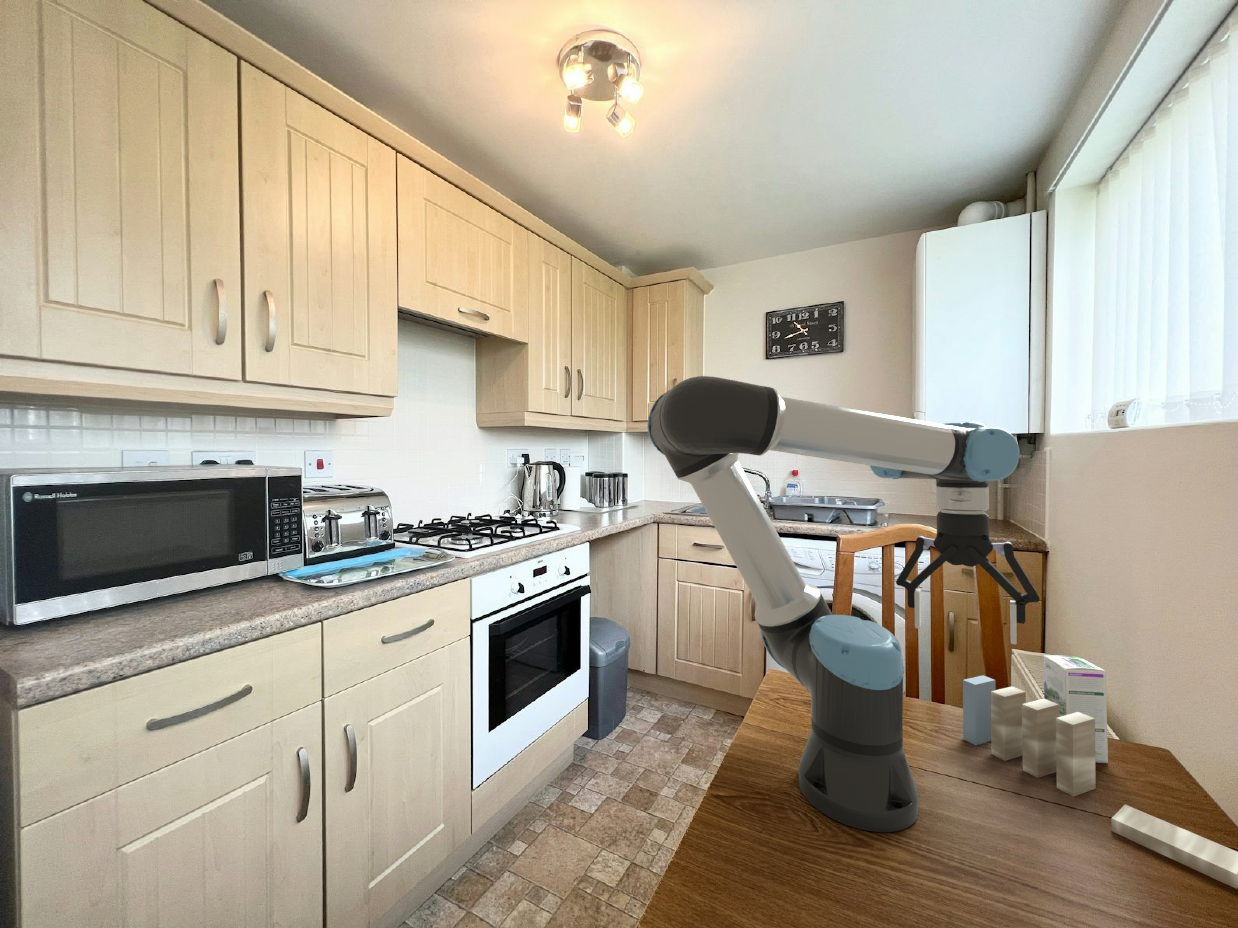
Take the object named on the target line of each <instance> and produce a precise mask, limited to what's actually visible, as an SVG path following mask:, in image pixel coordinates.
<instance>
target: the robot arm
mask: <svg viewBox="0 0 1238 928" xmlns="http://www.w3.org/2000/svg"><path fill="white" fill-rule="evenodd" d="M647 432H648V437H649V438H650V441H651V443H652V445H653V447H655V449H656V450H657V451H658V452H660V453H661V454H662V455H664V457H665V458H666V461H667V462H668V464H669V466H670V467H671V470H672V471H673V473H674V474H675V476H676V478H677V479H678V480H679V481H683V482H686V483H689V484H690V485H691V487H692V488H693V490H694V492H695V493H696V496H697V497H698V499H699V501H700V502H701V504H702V507H703V508H704V510H705V512H706V513H707V515H708V517H709V519H710V521H711V523H712V524H713V526H714V528H715V530H716V531H717V534H718V535H719V537H720V539H721V541H722V543H723V545H724V547H725V548H726V550H727V551H728V554H729V555H730V557H731V558H732V561H733V562H734V565H735V566H736V568H737V570H738V572H739V573H740V575H741V576H742V579H743V581H744V583H745V584H746V586H747V588H748V589H749V592H750V593H751V596H753V598H754V601H755V603H756V604H757V606H756V608H755V611H754V619H755V621H756V623H757V625H758V627H759V630H760V637H761V639H762V643H763V646H764V648H765V649H766V651H767V653H768V654H769V655H770V657H771V659H772V660H774V662H776V663H777V664H778V665H779V666H780V667H782V668H783V669H784V670H786V671H787V672H788V673H789V674H790V675H791V676H792V677H793V678H794V679H795V680H797V682H799V683H800V684H801V685H802V686H803V687H804V688H805V689H806V690H807V691H809V693H810V708H811V709H810V711H811V712H810V716H811V719H810V720H811V721H810V722H811V724H810V725H811V729H810V733H809V736H808V738H807V741H806V742H805V743H806V744H805V746H804V750H803V751H802V755H801V758H800V761H799V765H798V785H799V789H800V791H801V792H802V795H803V796H804V798H805V799H806V800H807V801H808V802H809V804H810V805H812V806H813V807H814V808H815V809H816V810H818V812H820V813H822V814H823V815H825V816H827V817H829V818H830V819H832V820H834V821H836V822H839V823H841V824H842V825H846V826H849V827H852V828H854V829H859V830H863V831H868V832H874V833H875V832H876V833H893V832H894V833H895V832H898V831H902V830H905V829H907V828H909V827H911V826H913V824H914V823H915V822H916V821H917V819H918V816H919V793H918V789H917V786H916V783H915V780H914V777H913V774H912V771H911V768H910V765H909V762H908V760H907V757H906V754H905V751H904V739H903V738H904V734H903V733H904V726H903V725H904V719H903V718H904V716H903V715H904V711H903V709H904V707H903V706H904V705H903V704H904V674H905V666H904V662H903V654H902V653H903V652H902V647H901V644H900V641H898V638H896V636H895V635H894V634H893V633H892V632H891V631H890V630H888V628H886V627H884V626H882V625H880V624H878V623H877V622H874V621H872V620H864V619H861V617H857V616H854V615H846V614H833V613H832V611H831V609H830V607H829V605H828V604H827V602H826V600H825V598H824V596H823V594H822V593H821V591H820V589H819V587H817V586H816V585H813V584H810V583H806V582H805V581H804V579H803V577H802V575H801V573H800V572H799V570H798V568H797V566H796V564H795V562H794V560H793V559H792V557H791V555H790V553H789V552H788V550H787V548H786V546H785V544H784V542H783V540H782V538H781V537H780V535H779V534H778V532H777V530H776V528H775V526H774V524H773V522H772V520H771V519H770V516H769V514H768V513H767V511H766V509H765V507H764V506H763V504H762V502H761V500H760V498H759V496H758V495H757V493H756V490H755V489H754V487H753V486H752V484H751V482H750V479H749V477H748V476H747V474H746V472H745V471H744V469H743V466H742V465H741V464H740V461H739V460H738V459H739V454H746V455H753V456H760V457H761V456H763V455H765V454H766V453H768V451H772V452H779V453H786V454H793V455H800V456H807V457H813V458H819V459H826V460H832V461H833V460H834V461H838V462H839V461H840V462H846V463H853V464H858V465H859V464H860V465H865V466H869V467H870V469H871V471H872V473H873V474H874V475H875V476H877V477H878V478H881V479H891V480H898V479H919V480H922V479H923V480H935V490H936V492H935V493H936V494H935V496H936V498H935V499H936V500H935V501H936V508H937V509H938V510H939V511H938V512H937V513H936V537H935V538H930V537H926V536H924V535H919V536H918V537H917V538H916V539H915V545H914V546H915V547H914V551H913V552H912V554H911V555H910V557H909V559H908V560H907V562H906V564H905V565H904V567H903V569H902V570H901V572H900V574H899V575H898V577H897V579H896V580H895V583H896V585H897V586H899V587H902V588H905V589H906V591H907V606H908V608H910V609H911V608H912V609H914V628H915V629H919V630H920V629H921V626H922V589H921V588H918V587H919V586H920V585H921V584H922V583H923V582H924V581H926V580H927V579H928V578H929V577H930V576H931V575H933V573H934V572H935V571H936V570H938V569H939V568H940V567H941V566H942V565H944V563H948V564H950V565H951V566H962V565H963V566H965V567H971V568H973V567H976V566H978V565H979V566H980V567H981V568H982V569H983V570H984V571H985V572H986V573H988V574H989V576H990V577H991V578H992V579H993V580H994V581H996V583H997V584H998V585H999V586H1000V587H1001V588H1002V589H1003V590H1004V591H1005V592H1006V593H1007V594H1008V595H1009V596H1010V597H1011V599H1012V600H1011V599H1010V601H1009V614H1010V615H1009V617H1010V618H1009V622H1010V625H1009V626H1010V629H1009V630H1010V644H1011V645H1018V643H1017V642H1018V639H1017V638H1018V636H1017V633H1018V632H1017V631H1018V630H1017V627H1018V626H1017V624H1021V625H1022V624H1023V625H1024V624H1025V622H1026V605H1027V604H1030V603H1038V602H1040V600H1041V598H1040V595H1039V593H1038V592H1037V589H1036V588H1035V587H1034V584H1033V583H1032V582H1031V580H1030V579H1029V577H1028V575H1027V573H1026V571H1024V569H1023V567H1022V566H1021V564H1020V562H1019V561H1018V559H1017V557H1016V556H1015V555H1014V547H1013V543H1012V542H1011V541H1004V542H992V541H991V539H990V515H988V514H987V513H986V512H987V511H988V510H990V504H989V503H990V493H989V491H990V487H989V481H990V482H991V481H992V482H993V481H994V482H995V481H1002V480H1004V479H1005V478H1008V477H1010V475H1012V474H1013V472H1014V471H1015V470H1016V469H1017V467H1018V464H1019V459H1020V452H1021V451H1020V447H1019V443H1018V440H1016V439H1017V438H1015V436H1014V435H1013V434H1012V433H1010V432H1009V431H1008V430H1006V429H1004V428H1001V427H996V426H995V427H986V425H985V423H982V422H977V421H968V422H967V421H966V422H965V421H963V422H946V423H937V422H932V421H924V420H919V419H914V418H907V417H901V416H898V415H897V416H896V415H891V414H885V413H879V412H878V413H877V412H874V411H872V412H871V411H867V410H861V409H854V408H849V407H842V406H838V405H832V404H825V403H820V402H813V401H808V400H802V399H795V398H790V397H784V396H780V394H779V392H778V391H777V390H776V389H775V387H774V388H773V387H771V386H765V385H758V384H753V383H749V382H744V381H738V380H735V379H734V380H733V379H729V378H723V377H717V376H709V375H708V376H706V375H700V376H693V377H689V378H686V379H684V380H682V381H680V382H679V383H677V384H676V385H675V386H673V387H672V388H670V389H669V390H667V391H665V392H664V393H663V394H661V395H659V397H658V398H657V400H655V402H654V403H653V405H652V407H651V409H650V411H649V415H648V418H647ZM930 546H933V547H934V548H935V550H937V552H938V553H939V555H938V556H937V557H936V558H934V560H933V561H931V562H930V563H929V564H928V565H927V566H926V567H924V569H923V570H922V571H921V572H920V573H918V574H917V575H916V576H914V578H913V579H912V580H910V579H908V577H909V576H910V574H911V572H912V571H913V569H914V567H915V566H916V564H917V562H918V560H919V559H920V557H921V556H922V554H923V552H924V551H925V550H929V548H930ZM993 551H997V553H998V554H999V556H1002V557H1005V560H1006V562H1007V564H1008V565H1009V568H1011V570H1012V572H1013V573H1014V575H1015V577H1016V579H1017V580H1018V581H1019V583H1020V585H1021V587H1022V588H1023V590H1024V592H1025V593H1021V591H1020V590H1018V588H1017V587H1016V586H1015V585H1014V584H1013V583H1012V582H1011V581H1010V580H1009V579H1008V578H1007V577H1006V576H1005V575H1004V574H1003V573H1002V572H1001V571H1000V570H999V569H998V568H997V567H996V566H995V565H994V563H993V562H992V561H991V560H990V559H988V556H989V554H991V552H993Z"/></svg>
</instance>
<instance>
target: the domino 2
mask: <svg viewBox="0 0 1238 928" xmlns="http://www.w3.org/2000/svg"><path fill="white" fill-rule="evenodd" d="M1026 692H1027V691H1025V690H1023V689H1020V688H1017V687H1016V686H1008V687H1003V688H999V689H996V690H995V691H991V741H990V742H991V745H990V746H991V748H990V750H991V755H993V756H995V757H996V758H999V759H1000V760H1002V761H1008V760H1012V759H1015V758H1018V757H1023V740H1022V704H1024V703H1027V702H1026V701H1027V698H1026V697H1027V696H1026V695H1027V694H1026Z"/></svg>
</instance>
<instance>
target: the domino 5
mask: <svg viewBox="0 0 1238 928" xmlns="http://www.w3.org/2000/svg"><path fill="white" fill-rule="evenodd" d="M1110 821H1111V832H1113V833H1115V834H1117V835H1119V836H1122V837H1124V838H1126V839H1127V840H1130V841H1132V842H1134V843H1137V844H1139V845H1141V846H1143V847H1145V848H1147V849H1149V850H1152V851H1153V852H1156V853H1158V854H1160V855H1163V856H1164V857H1167V858H1168V859H1169V858H1170V859H1171V860H1174V861H1176V862H1178V863H1179V864H1182V865H1184V866H1186V867H1188V868H1190V869H1193V870H1195V871H1196V872H1197V871H1198V873H1201V874H1203V875H1205V876H1208V877H1210V878H1212V879H1214V880H1216V881H1218V882H1221V883H1222V884H1225V885H1228V886H1230V887H1232V888H1234V889H1236V890H1237V889H1238V851H1237V850H1234V849H1232V848H1229V847H1227V846H1224V845H1222V844H1220V843H1218V842H1215V841H1212V840H1211V839H1209V838H1205V836H1204V837H1203V836H1201V835H1200V834H1196V833H1194V832H1192V831H1190V830H1187V829H1185V828H1182V827H1180V826H1177V825H1175V824H1172V823H1170V822H1167V821H1165V820H1163V819H1160V818H1158V817H1156V816H1154V815H1151V814H1148V813H1146V812H1144V811H1142V810H1139V809H1137V808H1135V807H1132V806H1130V805H1128V804H1124V805H1123V806H1122V807H1121V808H1120V809H1119V810H1118V811H1116V813H1115V814H1114V815H1113V816H1112V817H1111V820H1110Z"/></svg>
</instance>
